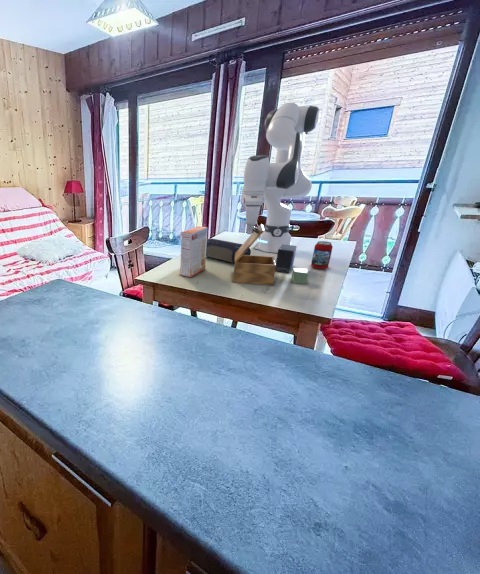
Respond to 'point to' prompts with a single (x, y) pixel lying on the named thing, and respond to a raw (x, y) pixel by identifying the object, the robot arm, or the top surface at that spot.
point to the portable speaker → (223, 250)
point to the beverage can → (321, 255)
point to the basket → (255, 270)
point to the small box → (285, 258)
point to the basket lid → (249, 241)
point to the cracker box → (193, 251)
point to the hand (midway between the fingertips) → (249, 231)
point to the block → (299, 275)
